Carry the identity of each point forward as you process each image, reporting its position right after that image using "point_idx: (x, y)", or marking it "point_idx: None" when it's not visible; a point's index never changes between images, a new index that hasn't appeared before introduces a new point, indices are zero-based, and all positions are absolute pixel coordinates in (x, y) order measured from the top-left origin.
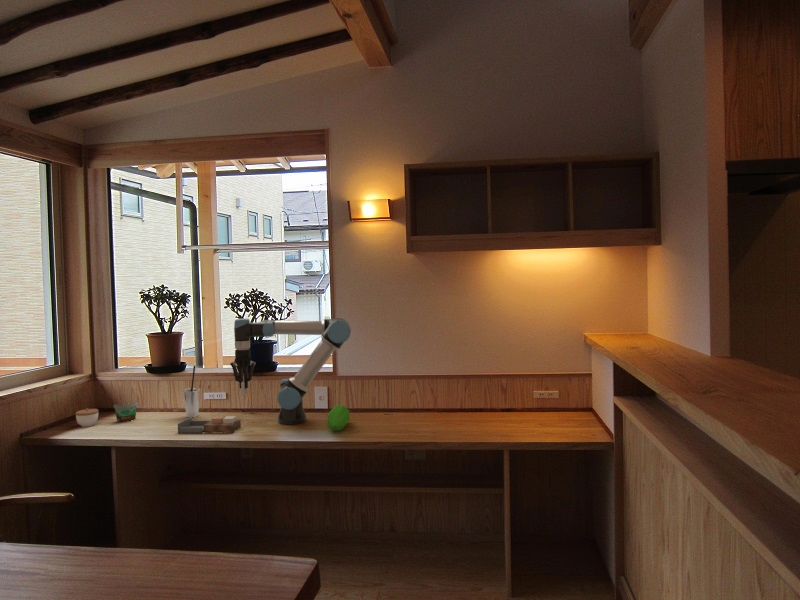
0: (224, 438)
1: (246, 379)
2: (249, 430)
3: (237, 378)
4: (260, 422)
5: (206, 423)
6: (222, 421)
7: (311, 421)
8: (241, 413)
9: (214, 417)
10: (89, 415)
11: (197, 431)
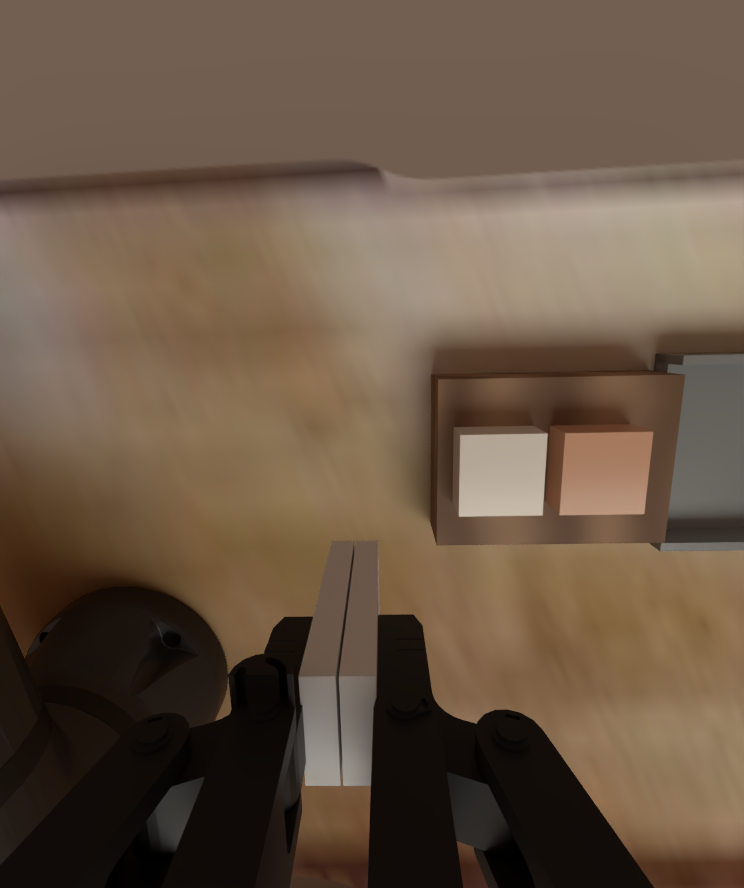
0: (437, 239)
1: (217, 762)
2: (334, 445)
3: (496, 780)
4: None
5: (675, 422)
6: (552, 453)
7: None
8: None
9: (640, 471)
10: None
11: (700, 353)
